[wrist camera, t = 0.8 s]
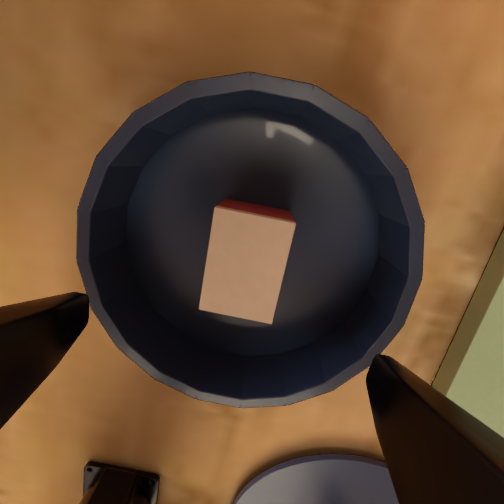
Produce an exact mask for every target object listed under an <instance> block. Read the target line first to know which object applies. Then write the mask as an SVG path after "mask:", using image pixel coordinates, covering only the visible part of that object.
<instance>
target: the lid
mask: <svg viewBox="0 0 504 504" xmlns="http://www.w3.org/2000/svg"><path fill="white" fill-rule="evenodd" d="M233 504H399V503H398V500H397V496H396V493H395V490H394V487H393V484H392V480H391V477H390V474H389V471H388V468H387V465H386V463H384V462H382V461H379V460H375V459H371V458H367V457H362V456H356V455H349V454H318V455H311V456H305V457H300V458H296V459H292V460H289V461H286V462H283V463H281V464H278V465H275V466H274V467H272V468H270V469H268V470H266V471H264V472H262V473H261V474H259V475H258V476H257V477H255V478H254V479H253V480H251V481H250V482H249V483H248V484H247V485H246V486H245V487H244V488H243V489H242V491H241V492H240V493H239V494H238V496H237V498H236V500H235V501H234V503H233Z"/></svg>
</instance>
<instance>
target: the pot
mask: <svg viewBox="0 0 504 504" xmlns="http://www.w3.org/2000/svg"><path fill="white" fill-rule="evenodd" d="M227 198H228V199H233V200H238V201H243V202H248V203H253V204H258V205H263V206H268V207H273V208H277V209H282V210H287V211H290V213H291V215H292V217H293V219H294V221H295V223H296V226H295V230H294V235H293V239H292V243H291V247H290V251H289V255H288V259H287V263H286V268H285V272H284V276H283V280H282V284H281V288H280V292H279V297H278V301H277V305H276V309H275V313H274V317H273V321H272V324H268V323H263V322H258V321H253V320H248V319H243V318H238V317H233V316H228V315H223V314H219V313H214V312H209V311H204V310H199V304H200V297H201V291H202V284H203V278H204V271H205V265H206V258H207V252H208V246H209V239H210V233H211V226H212V220H213V213H214V208H215V206H217V205H219V204H220V203H221V202H223V201H224V200H225V199H227ZM424 223H425V222H424V218H423V215H422V212H421V209H420V206H419V203H418V199H417V196H416V193H415V190H414V187H413V183H412V180H411V177H410V174H409V171H408V168H406V165H405V164H404V163H403V161H402V160H401V159H400V158H399V156H398V155H397V154H396V152H395V151H394V150H393V148H392V147H391V146H390V145H389V143H388V142H387V141H386V139H385V138H384V137H383V136H382V134H381V133H380V132H379V130H378V129H377V128H376V127H375V125H374V124H373V123H372V121H371V120H369V118H368V117H366V116H365V115H363V114H362V113H360V112H358V111H357V110H355V109H353V108H352V107H350V106H349V105H347V104H345V103H344V102H342V101H341V100H339V99H337V98H336V97H334V96H333V95H331V94H329V93H328V92H326V91H324V90H323V89H321V88H320V87H318V86H316V85H313V84H310V83H305V82H300V81H295V80H290V79H285V78H280V77H275V76H270V75H265V74H260V73H255V72H251V73H250V72H243V73H237V74H231V75H224V76H218V77H212V78H206V79H199V80H193V81H188V82H185V83H183V84H181V85H180V86H178V87H176V88H174V89H173V90H171V91H169V92H167V93H165V94H164V95H162V96H160V97H158V98H157V99H155V100H153V101H151V102H150V103H148V104H146V105H144V106H143V107H141V108H139V109H137V110H136V111H134V113H132V114H131V115H130V116H129V117H128V119H127V120H126V121H125V122H124V123H123V125H122V126H121V127H120V128H119V129H118V131H117V132H116V133H115V134H114V135H113V137H112V138H111V139H110V140H109V141H108V143H107V144H106V145H105V146H104V147H103V149H102V150H101V151H100V152H99V153H98V154H97V156H96V158H95V160H94V163H93V166H92V169H91V172H90V174H89V177H88V180H87V183H86V185H85V188H84V191H83V194H82V196H81V199H80V202H79V205H78V209H77V254H76V259H77V264H78V267H79V270H80V274H81V277H82V280H83V283H84V287H85V290H86V293H87V295H88V296H89V303H90V306H91V309H92V311H93V312H94V314H95V315H96V317H97V318H98V320H99V321H100V323H101V324H102V326H103V327H104V329H105V330H106V332H107V333H108V335H109V336H110V338H111V339H112V341H113V342H114V344H115V345H116V347H117V348H119V349H120V350H121V351H122V352H123V353H124V354H125V355H127V356H128V357H129V358H130V359H131V360H132V361H134V362H135V363H136V364H137V365H138V366H139V367H140V368H142V369H143V370H144V371H145V372H146V373H147V374H149V375H150V376H151V377H152V378H154V379H155V380H157V381H159V382H161V383H163V384H165V385H167V386H170V387H172V388H174V389H176V390H178V391H180V392H182V393H184V394H186V395H188V396H190V397H192V398H194V399H195V398H196V399H198V400H203V401H208V402H213V403H218V404H223V405H228V406H233V407H238V408H240V407H241V408H252V407H270V406H286V405H291V404H294V403H297V402H300V401H303V400H306V399H309V398H312V397H315V396H318V395H321V394H324V393H327V392H330V391H331V390H332V391H333V390H334V389H336V388H337V387H339V386H340V385H342V384H343V383H345V382H346V381H348V380H349V379H351V378H352V377H354V376H355V375H357V374H358V373H360V372H361V371H363V370H364V369H366V368H367V367H369V366H370V365H371V363H372V360H373V358H374V356H375V355H377V354H381V353H382V352H383V350H384V349H385V348H386V347H387V346H388V344H389V343H390V342H391V341H392V340H393V338H394V337H395V336H396V335H397V333H398V332H399V331H400V330H401V329H402V327H403V326H404V324H405V321H406V319H407V316H408V314H409V311H410V309H411V306H412V304H413V301H414V299H415V296H416V293H417V291H418V288H419V286H420V283H421V281H422V274H423V251H424V228H425V225H424Z"/></svg>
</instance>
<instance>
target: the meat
mask: <svg viewBox="0 0 504 504" xmlns="http://www.w3.org/2000/svg"><path fill="white" fill-rule="evenodd" d="M295 226H296V223H295V221H294V219H293V217H292V215H291V213H290V211H287V210H282V209H277V208H273V207H268V206H263V205H258V204H253V203H248V202H243V201H238V200H233V199H228V198H227V199H225V200H224V201H223V202H221V203H220V204H219V205H217V206H215V208H214V213H213V220H212V226H211V233H210V239H209V246H208V252H207V258H206V265H205V271H204V278H203V284H202V291H201V297H200V304H199V310H204V311H209V312H214V313H219V314H223V315H228V316H233V317H238V318H243V319H248V320H253V321H258V322H263V323H268V324H272V321H273V317H274V313H275V309H276V305H277V301H278V297H279V292H280V288H281V284H282V280H283V276H284V272H285V268H286V263H287V259H288V255H289V251H290V247H291V243H292V239H293V235H294V230H295Z"/></svg>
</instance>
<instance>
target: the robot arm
mask: <svg viewBox="0 0 504 504" xmlns="http://www.w3.org/2000/svg"><path fill="white" fill-rule="evenodd" d="M88 319H89V296H88V295H86V294H83V293H78V292H71V293H66V294H61V295H57V296H52V297H47V298H42V299H37V300H32V301H27V302H22V303H17V304H12V305H8V306H3V307H0V429H1V428H2V427H3V426H4V424H5V423H6V422H7V421H8V420H9V419H10V418H11V417H12V416H13V414H14V413H15V412H16V411H17V410H18V409H19V408H20V407H21V406H22V404H23V403H24V402H25V401H26V400H27V399H28V398H29V397H30V395H31V394H32V393H33V392H34V391H35V390H36V389H37V388H38V387H39V385H40V384H41V383H42V382H43V381H44V380H45V379H46V378H47V377H48V375H49V374H50V373H51V372H52V371H53V370H54V368H55V367H56V366H57V365H58V363H59V362H60V361H61V360H62V358H63V357H64V355H65V354H66V353H67V351H68V350H69V349H70V347H71V346H72V345H73V343H74V342H75V340H76V339H77V338H78V336H79V335H80V334H81V332H82V331H83V330H84V328H85V327H86V325H87V323H88ZM366 385H367V390H368V395H369V399H370V404H371V409H372V414H373V419H374V424H375V428H376V432H377V436H378V439H379V442H380V446H381V449H382V452H383V455H384V458H385V461H386V465H387V468H388V471H389V474H390V477H391V480H392V484H393V487H394V490H395V493H396V496H397V500H398V503H399V504H504V437H502V436H501V435H499V434H498V433H497V432H495V431H494V430H492V429H491V428H490V427H488V426H487V425H485V424H484V423H483V422H481V421H480V420H478V419H477V418H476V417H474V416H473V415H471V414H470V413H469V412H467V411H466V410H464V409H463V408H462V407H460V406H459V405H457V404H456V403H454V402H453V401H452V400H450V399H449V398H447V397H446V396H445V395H443V394H442V393H440V392H439V391H438V390H436V389H435V388H433V387H432V386H431V385H429V384H428V383H426V382H425V381H424V380H422V379H421V378H419V377H418V376H417V375H415V374H414V373H412V372H411V371H410V370H408V369H407V368H405V367H404V366H403V365H401V364H400V363H398V362H397V361H396V360H394V359H393V358H391V357H389V356H385V355H381V354H377V355H375V356H374V358H373V360H372V363H371V365H370V368H369V371H368V373H367V377H366ZM159 482H160V477H159V476H158V475H157V474H154V473H149V472H144V471H139V470H134V469H129V468H124V467H119V466H114V465H109V464H104V463H99V462H94V461H89V462H88V463H87V464H86V466H85V467H84V486H83V498H82V500H81V502H80V503H79V504H157V497H158V490H159Z"/></svg>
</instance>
